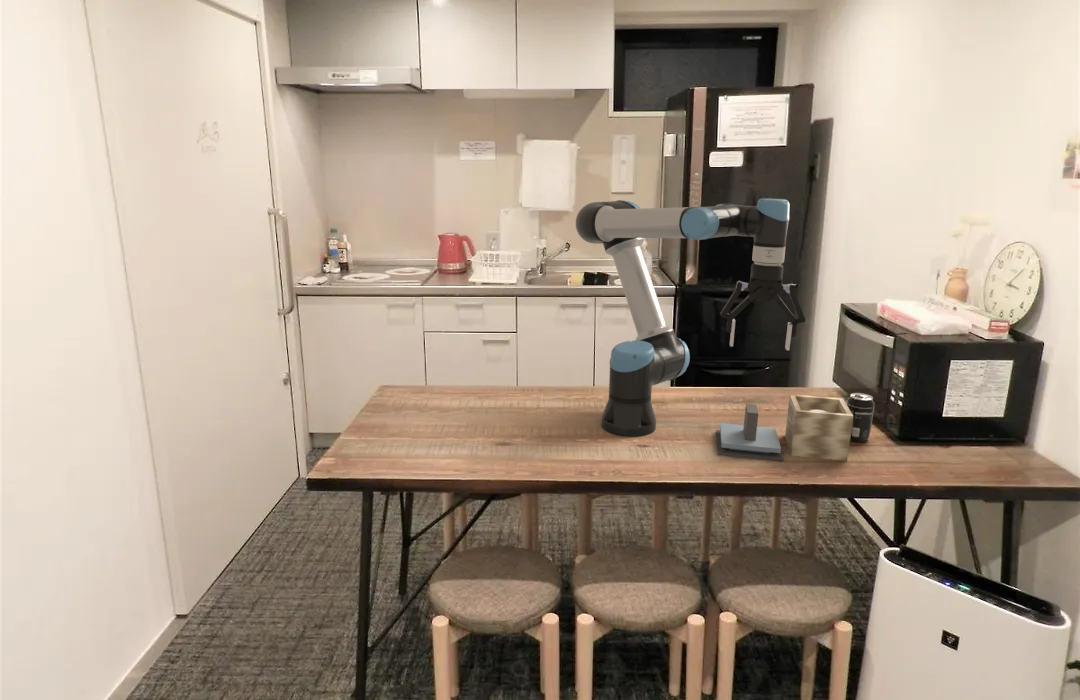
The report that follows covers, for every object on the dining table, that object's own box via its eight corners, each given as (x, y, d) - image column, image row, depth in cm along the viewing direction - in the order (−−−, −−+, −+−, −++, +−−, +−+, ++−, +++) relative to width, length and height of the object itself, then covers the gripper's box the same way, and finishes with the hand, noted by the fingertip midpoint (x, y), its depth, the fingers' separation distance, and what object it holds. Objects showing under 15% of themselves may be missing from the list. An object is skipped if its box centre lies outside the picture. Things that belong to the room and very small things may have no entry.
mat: (717, 454, 181) (718, 452, 181) (716, 431, 196) (716, 429, 196) (783, 461, 178) (783, 459, 178) (776, 437, 193) (777, 435, 193)
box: (791, 455, 182) (796, 411, 179) (785, 435, 194) (789, 394, 191) (846, 460, 179) (853, 416, 176) (837, 440, 192) (842, 398, 189)
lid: (721, 451, 182) (724, 415, 179) (719, 431, 195) (722, 397, 193) (780, 457, 179) (784, 420, 176) (774, 436, 192) (778, 401, 190)
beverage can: (845, 431, 198) (851, 390, 195) (871, 437, 195) (877, 395, 191) (839, 438, 193) (845, 397, 190) (866, 445, 189) (872, 402, 186)
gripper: (715, 263, 173) (708, 347, 179) (824, 268, 168) (813, 354, 174) (715, 258, 181) (708, 339, 186) (819, 263, 176) (808, 346, 181)
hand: (759, 347), depth 180 cm, fingers open, 13 cm apart
